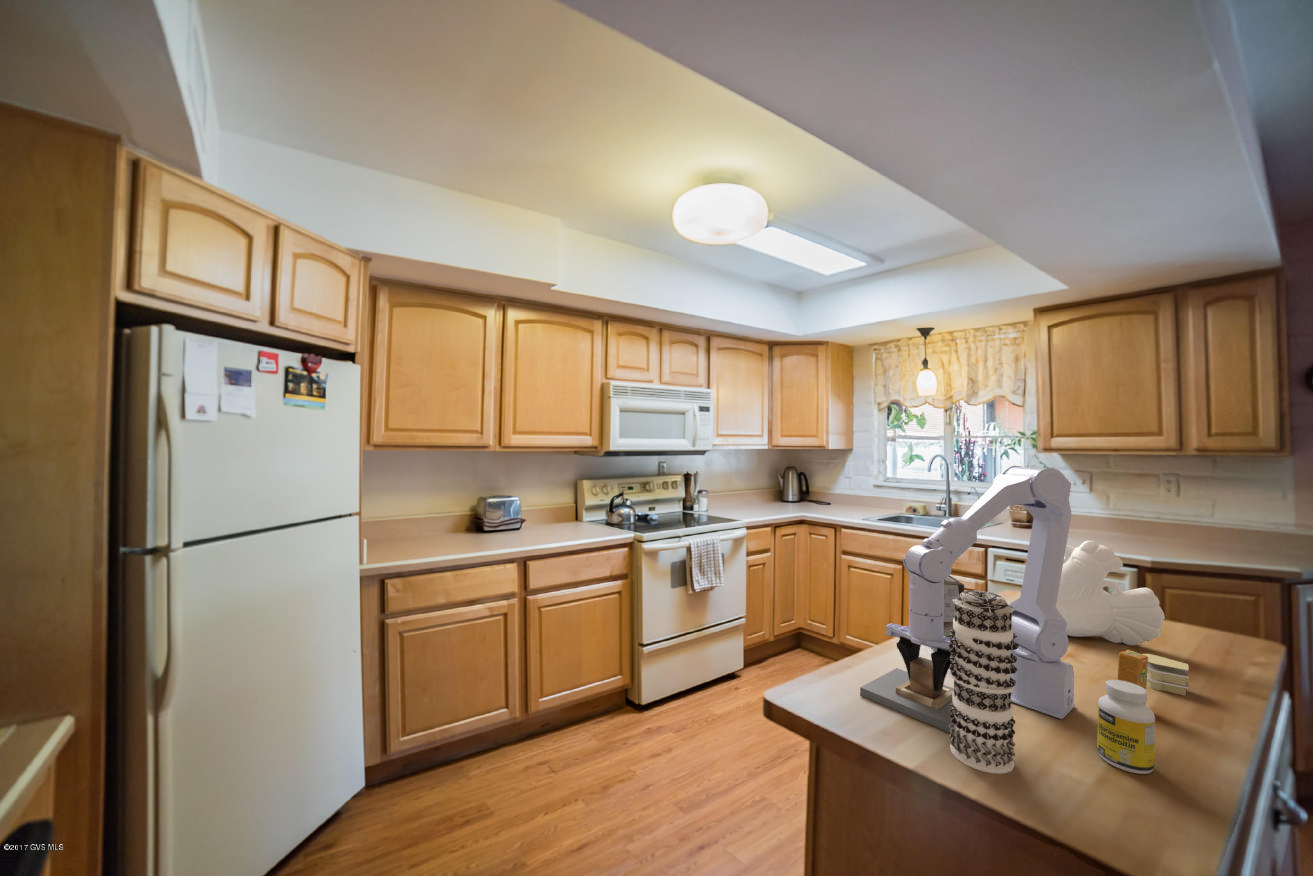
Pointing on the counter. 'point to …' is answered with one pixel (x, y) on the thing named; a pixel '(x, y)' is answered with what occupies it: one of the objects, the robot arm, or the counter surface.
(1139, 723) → the pill bottle
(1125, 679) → the supplement box
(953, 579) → the coffee box
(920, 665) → the walnut block
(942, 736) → the counter surface
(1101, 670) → the counter surface
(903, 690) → the plate
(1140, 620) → the decorative rooster
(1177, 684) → the cream layered block
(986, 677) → the decorative candle
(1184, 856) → the counter surface
